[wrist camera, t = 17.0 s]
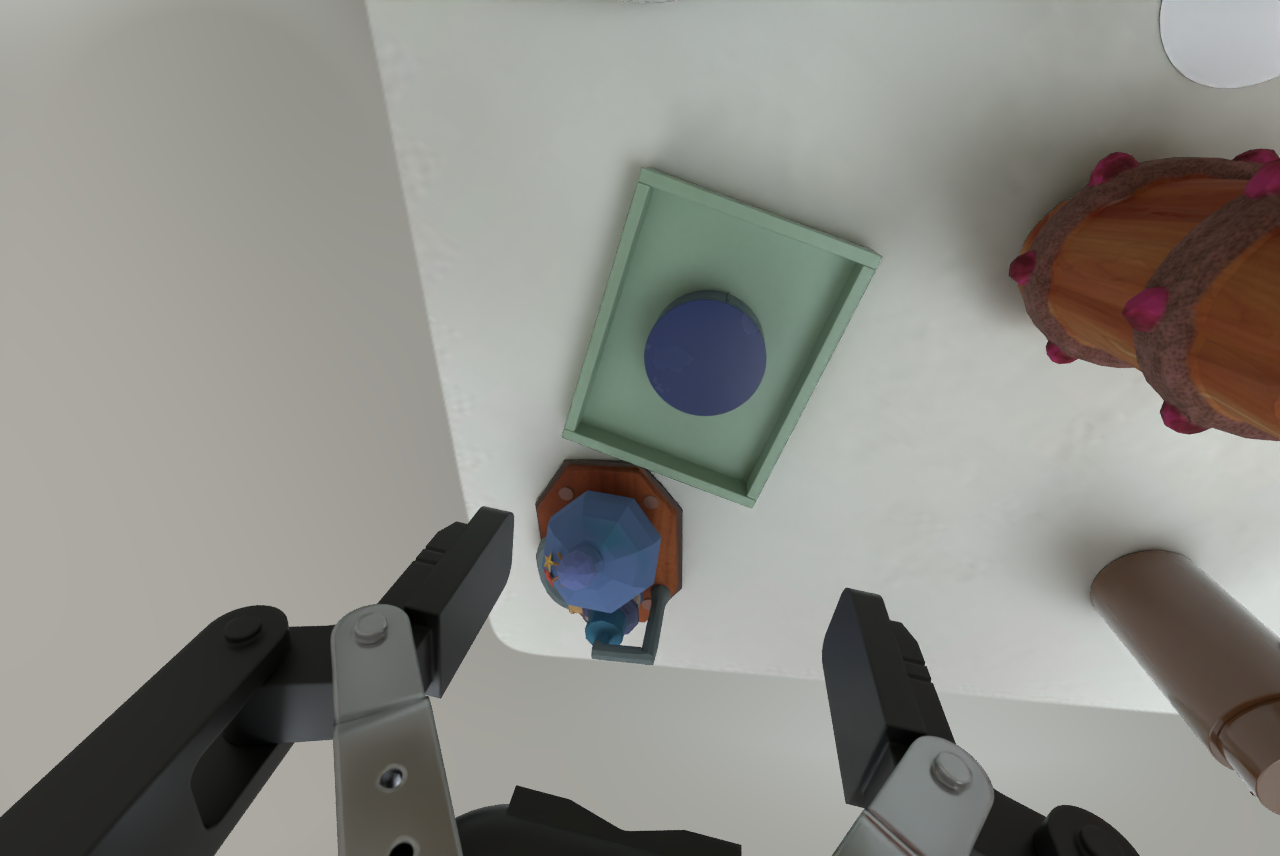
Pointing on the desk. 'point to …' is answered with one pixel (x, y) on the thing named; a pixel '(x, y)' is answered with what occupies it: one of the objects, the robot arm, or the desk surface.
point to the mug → (1169, 284)
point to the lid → (706, 353)
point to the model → (610, 552)
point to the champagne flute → (1223, 40)
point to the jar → (1201, 659)
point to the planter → (648, 1)
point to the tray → (729, 262)
